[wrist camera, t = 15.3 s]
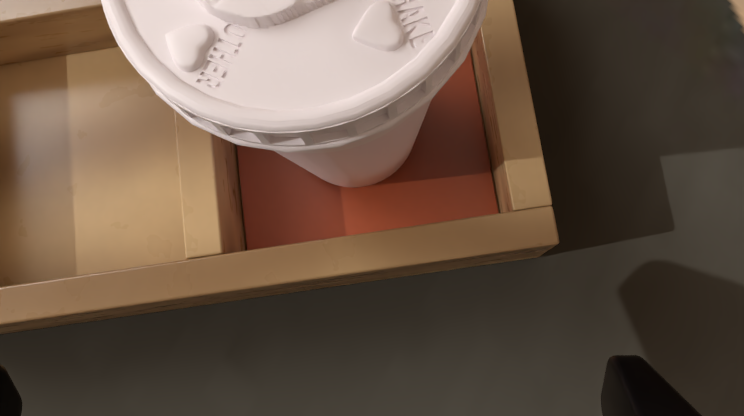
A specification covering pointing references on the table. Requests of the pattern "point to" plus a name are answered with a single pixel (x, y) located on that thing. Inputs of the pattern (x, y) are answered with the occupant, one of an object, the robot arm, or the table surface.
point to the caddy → (237, 184)
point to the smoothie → (302, 72)
